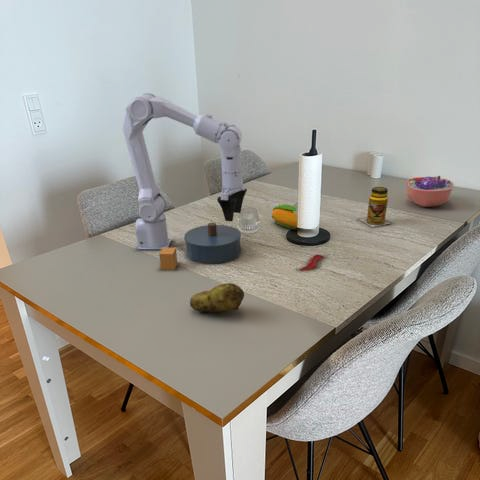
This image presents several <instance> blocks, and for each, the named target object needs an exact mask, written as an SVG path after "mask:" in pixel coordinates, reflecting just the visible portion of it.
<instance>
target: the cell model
mask: <svg viewBox="0 0 480 480" xmlns="http://www.w3.org/2000/svg"><path fill="white" fill-rule="evenodd" d="M441 177H442V176H441V175H438V176H420V177H419V176H418V177H412V178H408V179H407V180H406V189H405V194H406V197H407V198H408V199H409V201H410V202H412V203H414V204H415V205H417V206H419V207H421V208H431V207H432V208H433V207H437V206H441V205H443V204H445V203H446V202H448V200H449V199H450V196H451V194H452V191H453V189H454V186H455V183H454V182H453V181H451V180H450V179H447V178H443V177H442V178H441Z"/></svg>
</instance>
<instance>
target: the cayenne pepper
mask: <svg viewBox="0 0 480 480" xmlns="http://www.w3.org/2000/svg"><path fill="white" fill-rule="evenodd" d="M323 258H324V255H322V254H315V255H313V256H312V257H310V259H309V261H308V263H307V264H306V266H303V267H301V268H299V271H304V272H305V271H310V270H314V269H316V268H317V264H318V262H319V261H320V260H321V259H323Z"/></svg>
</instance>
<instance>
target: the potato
mask: <svg viewBox="0 0 480 480" xmlns="http://www.w3.org/2000/svg"><path fill="white" fill-rule="evenodd" d="M244 298H245V292H244V290H243V288H241V286H239V285H238V284H235V283H232V282H227V283H222V284H219V285H216V286H214V287H213V288H211V289H209V290H204V291H200V292H198V293H195V294H194V295H192V296H191V297H190V300H189V306H190V308H191V309H193V310H195V311H197V312H209V313H222V312H225V311H229V310H235V311H237V310H239V307H240V306H241V304H242V302H243V300H244Z"/></svg>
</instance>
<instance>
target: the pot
mask: <svg viewBox="0 0 480 480" xmlns="http://www.w3.org/2000/svg"><path fill="white" fill-rule="evenodd" d="M185 247H186V255H187V258H188V259H189V260H191V261H192V262H195V263H197V264H199V263H200V264H203V265H204V264H206V265H217V264H225V263H228V262H230V261H233V260H235V259H236V258H238V257H240V254H241V238H240V239H239V240H238V241H236V242H235V243H232V244H229V245H226V246H221V247H199V246H194V245H191V244H189V243H187V242H186V241H185Z"/></svg>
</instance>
